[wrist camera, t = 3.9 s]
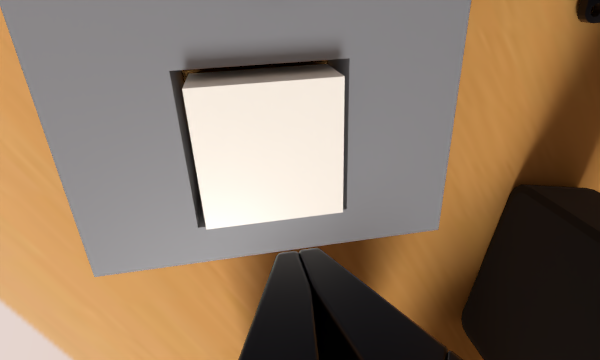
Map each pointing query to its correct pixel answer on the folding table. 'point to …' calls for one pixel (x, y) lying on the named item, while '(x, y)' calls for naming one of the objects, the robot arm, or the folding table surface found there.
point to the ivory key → (267, 142)
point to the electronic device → (540, 279)
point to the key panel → (174, 125)
